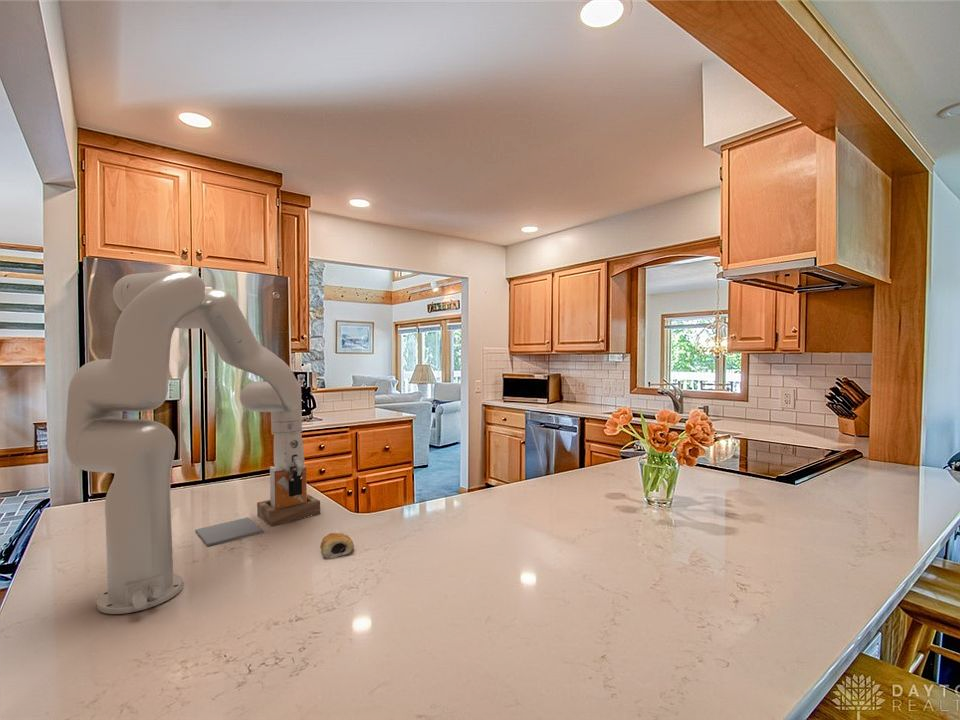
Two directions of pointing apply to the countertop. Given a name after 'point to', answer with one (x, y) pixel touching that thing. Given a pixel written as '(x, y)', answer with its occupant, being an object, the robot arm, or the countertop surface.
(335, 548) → the pastry
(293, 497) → the small box
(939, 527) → the countertop surface
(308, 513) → the holder
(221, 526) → the mat
